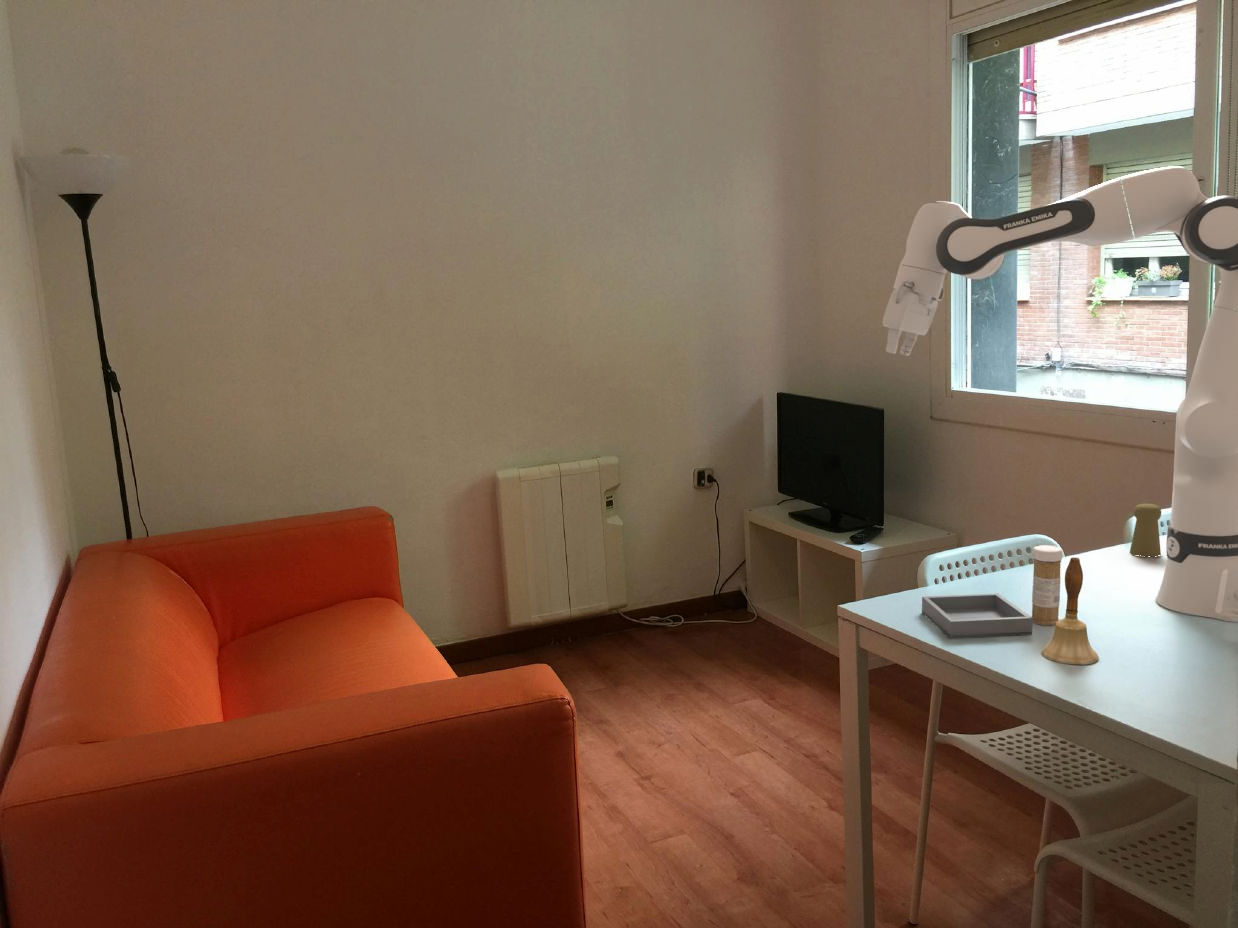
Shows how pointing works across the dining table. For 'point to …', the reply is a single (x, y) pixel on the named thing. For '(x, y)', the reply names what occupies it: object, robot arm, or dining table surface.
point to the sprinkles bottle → (1046, 584)
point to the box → (976, 616)
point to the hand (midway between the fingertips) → (897, 354)
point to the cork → (1146, 531)
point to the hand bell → (1071, 626)
